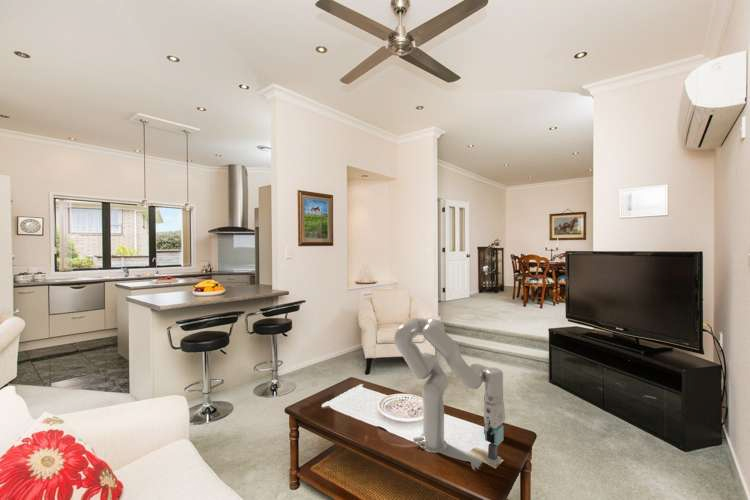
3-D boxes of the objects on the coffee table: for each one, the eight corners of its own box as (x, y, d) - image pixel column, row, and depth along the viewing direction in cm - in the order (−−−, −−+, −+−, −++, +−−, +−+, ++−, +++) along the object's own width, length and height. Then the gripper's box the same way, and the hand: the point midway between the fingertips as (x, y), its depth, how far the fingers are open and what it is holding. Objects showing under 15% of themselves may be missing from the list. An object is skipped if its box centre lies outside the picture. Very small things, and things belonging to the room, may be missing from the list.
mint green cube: (497, 445, 142) (497, 430, 142) (485, 440, 147) (484, 425, 146) (503, 440, 146) (503, 425, 146) (491, 434, 150) (491, 420, 150)
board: (495, 470, 142) (495, 468, 142) (466, 455, 152) (466, 453, 152) (503, 461, 147) (503, 460, 147) (475, 447, 157) (475, 446, 157)
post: (495, 465, 144) (495, 449, 143) (484, 460, 147) (485, 444, 147) (500, 460, 147) (500, 445, 147) (490, 455, 150) (490, 440, 150)
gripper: (492, 407, 137) (492, 451, 138) (511, 394, 149) (511, 434, 150) (475, 401, 143) (476, 443, 143) (495, 388, 155) (495, 427, 155)
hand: (494, 438), depth 146 cm, fingers closed on mint green cube, 5 cm apart
